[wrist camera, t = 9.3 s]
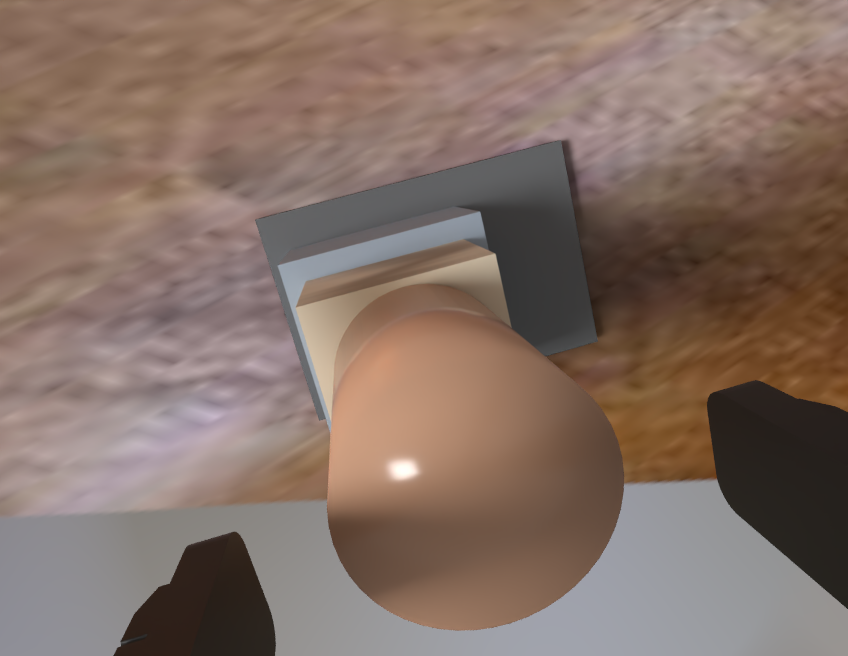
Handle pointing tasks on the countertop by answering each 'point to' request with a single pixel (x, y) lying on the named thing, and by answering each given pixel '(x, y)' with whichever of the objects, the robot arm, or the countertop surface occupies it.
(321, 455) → the countertop surface
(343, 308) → the maple top block
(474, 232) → the slate base block
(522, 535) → the peach rounded post
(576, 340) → the mat
